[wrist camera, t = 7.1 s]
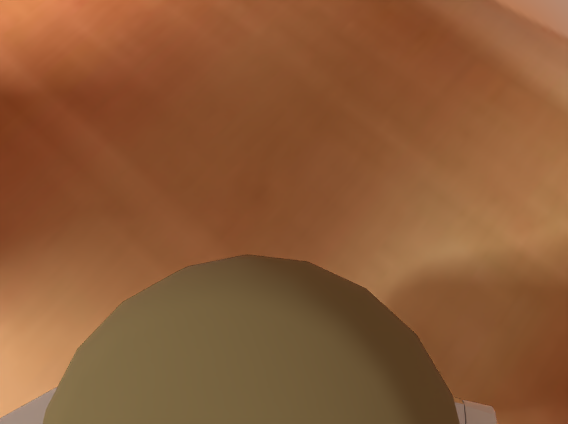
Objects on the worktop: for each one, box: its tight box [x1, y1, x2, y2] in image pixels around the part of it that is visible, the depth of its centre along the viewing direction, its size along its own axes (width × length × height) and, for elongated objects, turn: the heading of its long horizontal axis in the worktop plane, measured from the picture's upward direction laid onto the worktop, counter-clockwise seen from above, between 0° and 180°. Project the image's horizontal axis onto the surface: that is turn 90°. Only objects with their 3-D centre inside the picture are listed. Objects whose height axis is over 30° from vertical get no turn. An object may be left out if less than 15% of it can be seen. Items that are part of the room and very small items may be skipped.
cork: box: [43, 255, 460, 424], centre depth 10 cm, size 6×6×11 cm
